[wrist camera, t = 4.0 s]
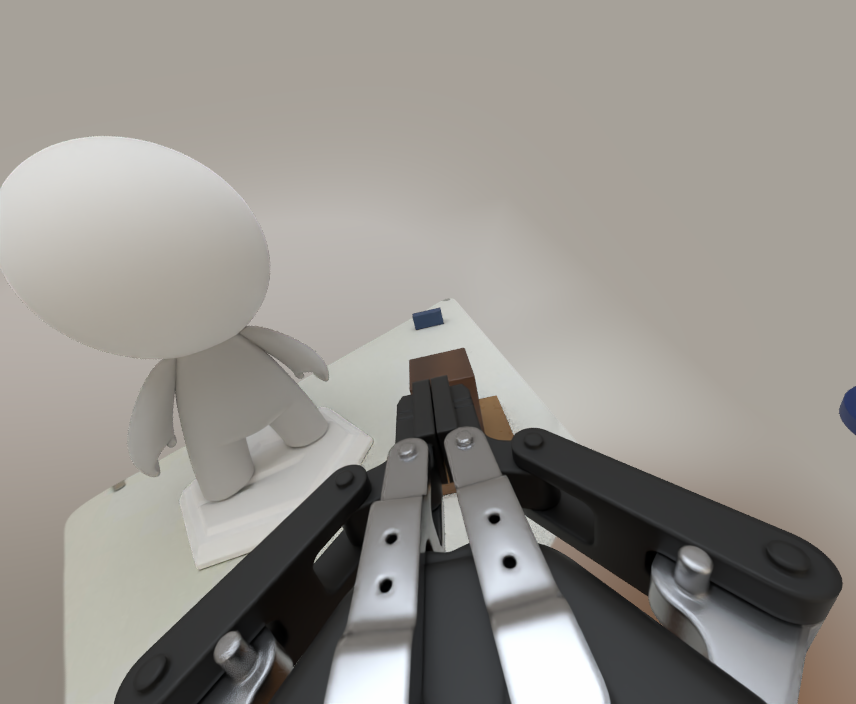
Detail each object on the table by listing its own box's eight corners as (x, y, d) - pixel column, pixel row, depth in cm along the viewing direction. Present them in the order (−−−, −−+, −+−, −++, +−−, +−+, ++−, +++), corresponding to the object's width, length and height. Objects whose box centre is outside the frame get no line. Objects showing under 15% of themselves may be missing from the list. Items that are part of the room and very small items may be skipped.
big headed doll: (315, 400, 54) (204, 153, 39) (402, 462, 37) (269, 72, 22) (175, 481, 43) (-53, 184, 28) (211, 618, 27) (-299, 73, 11)
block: (498, 404, 43) (486, 330, 38) (528, 477, 32) (517, 386, 27) (405, 424, 43) (383, 353, 39) (405, 502, 33) (374, 416, 28)
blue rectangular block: (442, 320, 73) (440, 307, 71) (443, 323, 71) (440, 310, 69) (415, 326, 73) (412, 313, 72) (415, 330, 71) (412, 316, 70)
